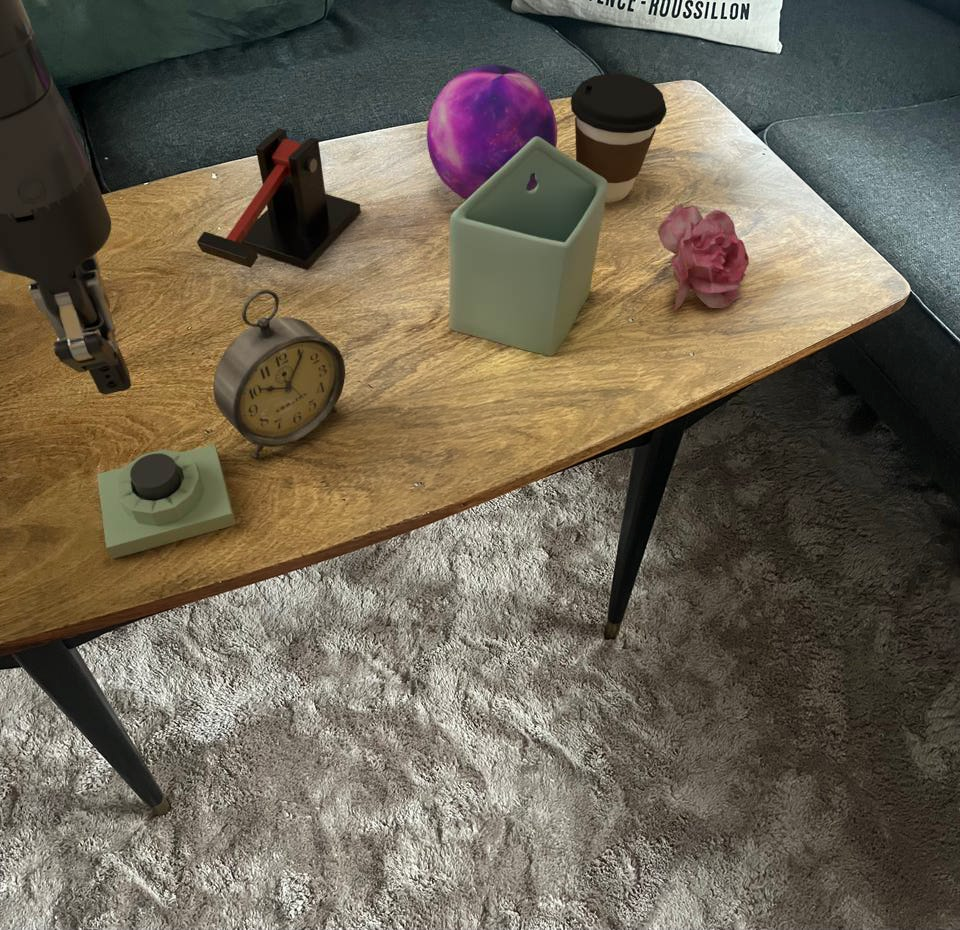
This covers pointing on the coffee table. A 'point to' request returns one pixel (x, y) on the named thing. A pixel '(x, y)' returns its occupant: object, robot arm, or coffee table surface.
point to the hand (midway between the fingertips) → (116, 385)
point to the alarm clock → (278, 379)
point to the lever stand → (298, 207)
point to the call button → (155, 476)
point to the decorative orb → (486, 125)
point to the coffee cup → (616, 127)
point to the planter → (526, 250)
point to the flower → (704, 255)
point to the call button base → (165, 504)
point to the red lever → (250, 214)
